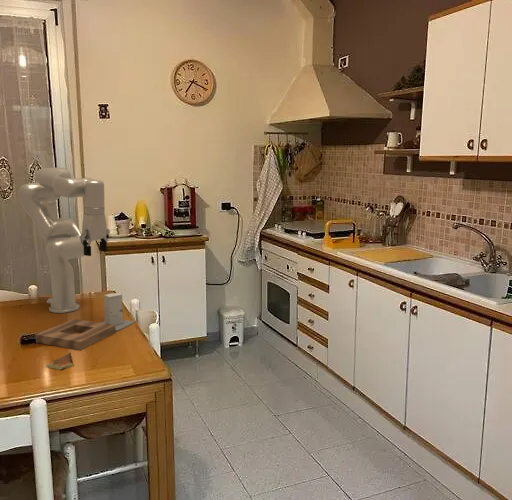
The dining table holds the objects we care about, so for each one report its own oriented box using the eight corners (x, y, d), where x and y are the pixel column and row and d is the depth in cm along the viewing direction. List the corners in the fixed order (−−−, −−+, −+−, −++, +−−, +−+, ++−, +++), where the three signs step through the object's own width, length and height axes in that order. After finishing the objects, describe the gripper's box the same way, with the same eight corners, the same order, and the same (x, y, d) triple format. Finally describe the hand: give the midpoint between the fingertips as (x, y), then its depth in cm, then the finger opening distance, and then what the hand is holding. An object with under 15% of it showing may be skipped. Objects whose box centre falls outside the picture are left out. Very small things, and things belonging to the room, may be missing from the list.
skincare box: (110, 326, 205) (108, 296, 203) (104, 324, 208) (103, 294, 206) (124, 323, 210) (122, 294, 207) (118, 320, 213) (117, 292, 211)
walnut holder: (36, 342, 189) (35, 334, 189) (74, 326, 207) (73, 318, 207) (80, 350, 182) (79, 341, 181) (115, 332, 200) (115, 325, 200)
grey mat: (92, 327, 205) (92, 326, 205) (111, 319, 216) (111, 318, 216) (117, 331, 201) (117, 330, 201) (135, 322, 212) (135, 321, 212)
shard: (70, 356, 177) (70, 351, 177) (87, 360, 174) (87, 355, 174) (45, 368, 167) (45, 363, 167) (63, 372, 164) (63, 367, 164)
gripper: (101, 208, 216) (101, 248, 220) (72, 212, 200) (73, 256, 204) (116, 209, 213) (116, 250, 217) (87, 214, 198) (88, 258, 201)
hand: (95, 253), depth 210 cm, fingers open, 9 cm apart
